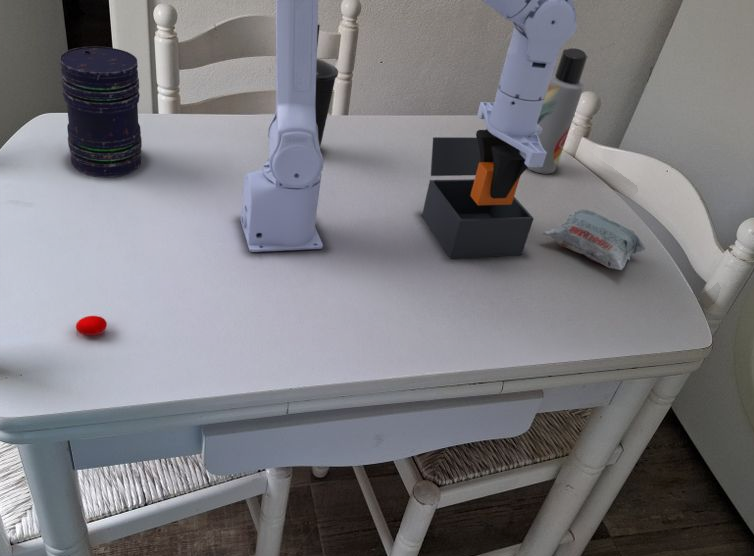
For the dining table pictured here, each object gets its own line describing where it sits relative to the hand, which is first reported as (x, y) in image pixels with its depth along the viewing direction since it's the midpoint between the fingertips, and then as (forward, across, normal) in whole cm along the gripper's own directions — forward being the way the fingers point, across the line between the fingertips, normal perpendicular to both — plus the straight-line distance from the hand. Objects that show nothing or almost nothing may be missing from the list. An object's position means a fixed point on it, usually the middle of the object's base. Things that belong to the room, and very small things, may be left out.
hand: (493, 191), depth 93 cm
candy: (+9, -12, +50) cm, 52 cm away
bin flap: (-1, +9, 0) cm, 9 cm away
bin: (+8, +2, 0) cm, 9 cm away
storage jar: (+9, +26, +48) cm, 55 cm away
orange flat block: (+1, 0, 0) cm, 1 cm away
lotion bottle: (+9, +22, -22) cm, 33 cm away
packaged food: (+9, -4, -16) cm, 19 cm away
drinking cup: (+9, +28, +18) cm, 35 cm away
